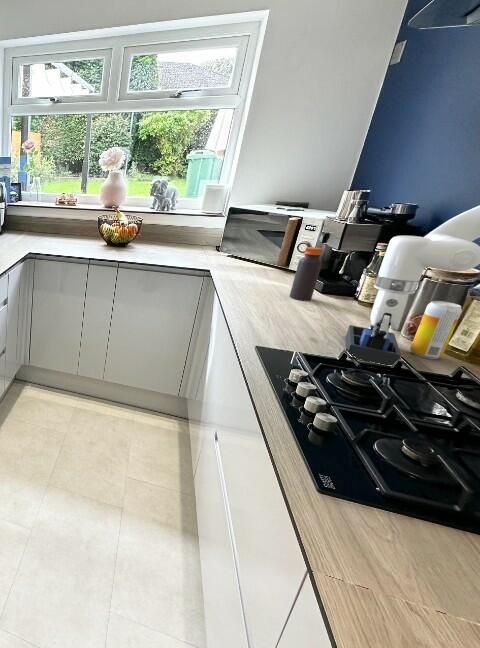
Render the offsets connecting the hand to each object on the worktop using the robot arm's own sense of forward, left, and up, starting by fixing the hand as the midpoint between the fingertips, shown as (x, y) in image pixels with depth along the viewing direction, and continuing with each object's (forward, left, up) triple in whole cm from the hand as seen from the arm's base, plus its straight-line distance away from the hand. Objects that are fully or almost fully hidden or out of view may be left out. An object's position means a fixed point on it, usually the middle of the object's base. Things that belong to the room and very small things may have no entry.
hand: (372, 347), depth 109 cm
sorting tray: (0, -4, -3) cm, 5 cm away
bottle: (+18, -51, -3) cm, 54 cm away
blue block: (0, 0, -1) cm, 1 cm away
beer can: (-12, -11, -3) cm, 16 cm away
